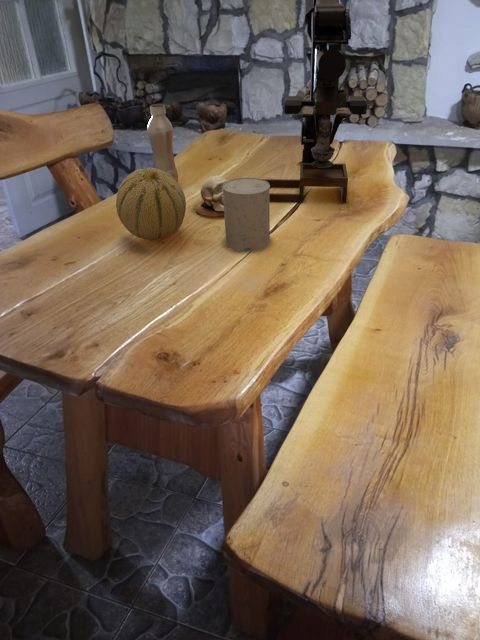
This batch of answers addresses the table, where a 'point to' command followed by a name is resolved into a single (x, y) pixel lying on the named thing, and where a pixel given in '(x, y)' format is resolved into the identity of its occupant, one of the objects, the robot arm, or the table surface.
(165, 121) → the plastic bottle
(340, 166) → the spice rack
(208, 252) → the table surface
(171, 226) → the cantaloupe
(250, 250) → the grey stone cylinder
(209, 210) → the skull
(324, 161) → the grey rounded piece
